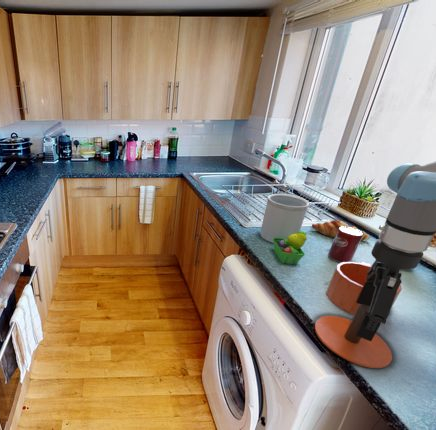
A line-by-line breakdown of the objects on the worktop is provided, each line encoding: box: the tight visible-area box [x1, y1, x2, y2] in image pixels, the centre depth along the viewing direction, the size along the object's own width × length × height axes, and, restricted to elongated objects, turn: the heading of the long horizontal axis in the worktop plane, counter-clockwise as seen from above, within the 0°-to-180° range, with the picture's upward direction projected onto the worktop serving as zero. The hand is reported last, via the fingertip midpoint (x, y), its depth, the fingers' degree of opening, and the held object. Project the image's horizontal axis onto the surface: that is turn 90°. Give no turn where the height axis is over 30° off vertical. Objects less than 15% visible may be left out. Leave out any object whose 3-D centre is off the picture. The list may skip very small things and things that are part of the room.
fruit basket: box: [273, 230, 308, 265], centre depth 106 cm, size 11×9×11 cm
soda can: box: [327, 227, 363, 264], centre depth 106 cm, size 7×7×12 cm
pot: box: [326, 261, 402, 316], centre depth 85 cm, size 15×20×10 cm
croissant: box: [311, 219, 372, 241], centre depth 124 cm, size 21×10×8 cm, turn 65°
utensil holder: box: [259, 193, 310, 244], centre depth 119 cm, size 15×15×18 cm
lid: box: [313, 304, 393, 369], centre depth 71 cm, size 16×16×11 cm
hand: (362, 319), depth 70 cm, fingers open, 13 cm apart
